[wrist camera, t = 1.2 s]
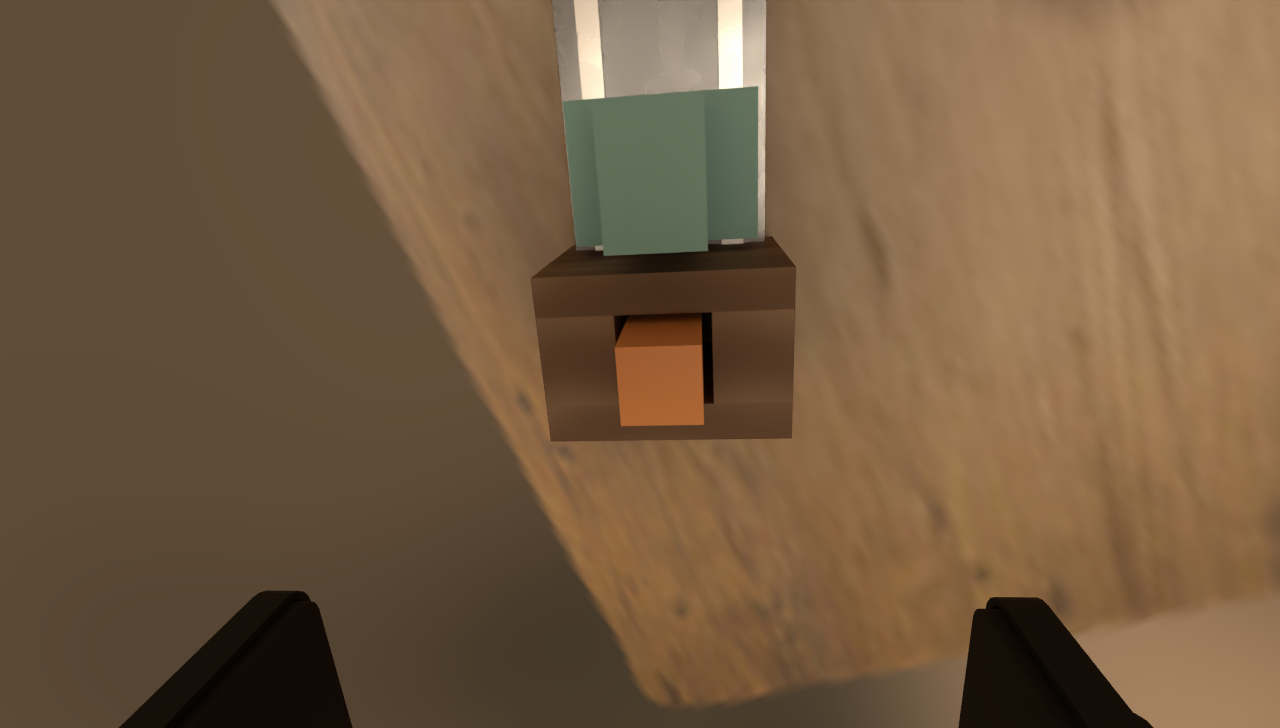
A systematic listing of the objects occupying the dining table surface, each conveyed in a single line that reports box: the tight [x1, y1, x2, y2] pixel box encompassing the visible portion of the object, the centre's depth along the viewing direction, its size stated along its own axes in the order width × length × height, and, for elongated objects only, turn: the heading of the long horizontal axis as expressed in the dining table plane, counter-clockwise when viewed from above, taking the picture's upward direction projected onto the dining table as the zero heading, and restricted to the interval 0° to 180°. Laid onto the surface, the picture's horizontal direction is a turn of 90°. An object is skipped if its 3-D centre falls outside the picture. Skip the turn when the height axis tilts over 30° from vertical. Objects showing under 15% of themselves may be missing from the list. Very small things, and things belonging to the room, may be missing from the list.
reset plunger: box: [615, 312, 704, 426], centre depth 25 cm, size 3×3×8 cm
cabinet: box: [531, 236, 796, 441], centre depth 27 cm, size 7×10×8 cm
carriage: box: [562, 86, 758, 256], centre depth 23 cm, size 6×8×8 cm
